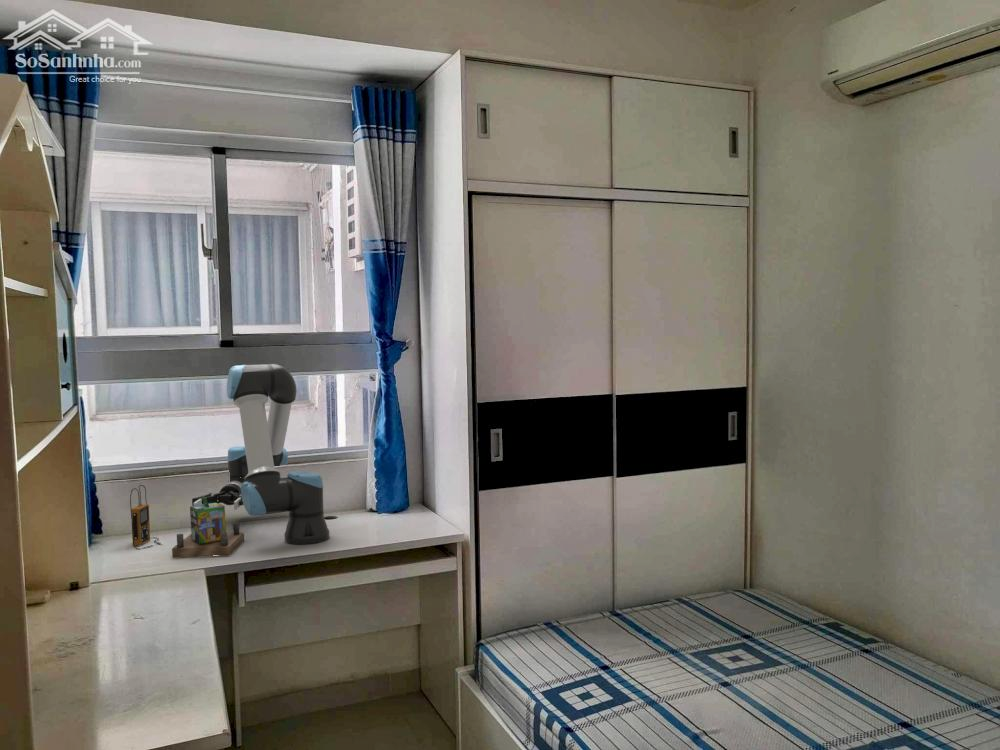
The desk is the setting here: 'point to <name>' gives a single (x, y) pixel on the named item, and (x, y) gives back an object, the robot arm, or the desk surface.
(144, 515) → the multimeter
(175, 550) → the peg stand
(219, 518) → the chalk box
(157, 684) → the desk surface
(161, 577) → the desk surface
